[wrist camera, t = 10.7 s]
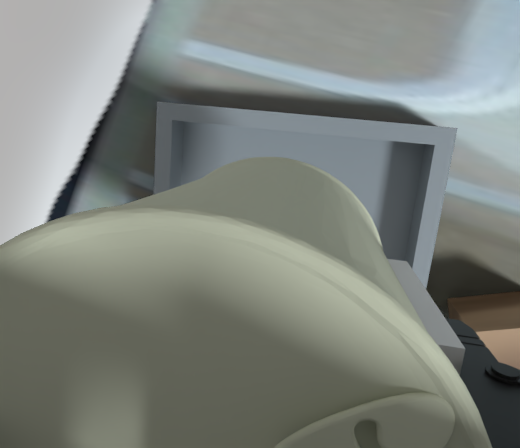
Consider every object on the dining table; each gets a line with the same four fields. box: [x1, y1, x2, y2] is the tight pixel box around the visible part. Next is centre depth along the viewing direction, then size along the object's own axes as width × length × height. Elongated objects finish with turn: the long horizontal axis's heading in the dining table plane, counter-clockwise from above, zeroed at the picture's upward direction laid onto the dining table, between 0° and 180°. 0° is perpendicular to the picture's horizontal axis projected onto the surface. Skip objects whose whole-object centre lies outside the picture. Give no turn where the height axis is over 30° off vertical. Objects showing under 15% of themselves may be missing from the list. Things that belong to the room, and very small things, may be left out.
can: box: [0, 157, 492, 448], centre depth 11 cm, size 9×9×12 cm
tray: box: [154, 102, 457, 289], centre depth 27 cm, size 17×13×3 cm
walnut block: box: [447, 291, 520, 370], centre depth 25 cm, size 5×5×5 cm
